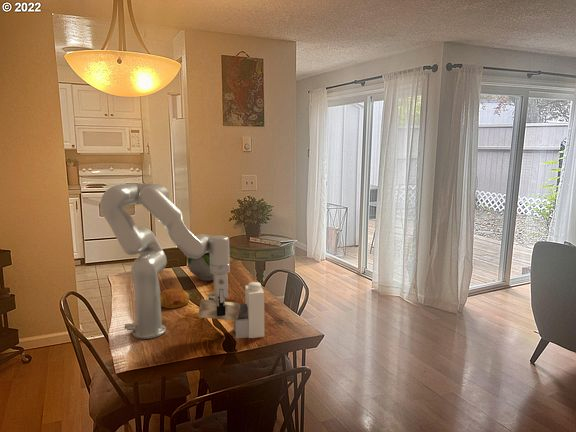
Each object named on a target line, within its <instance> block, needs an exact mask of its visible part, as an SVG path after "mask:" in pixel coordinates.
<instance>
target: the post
mask: <svg viewBox="0 0 576 432" xmlns="http://www.w3.org/2000/svg"><path fill="white" fill-rule="evenodd" d="M244 289H245V291H244V292H245V299H244V302H245V303H244V304H247V313H246V318H245V319H239V320H235V321H233V331H234V332H235V339H245V338H249V339H255V338H256V339H257V338H264V337H265V292H264V289H263V287H262V284H261V282H257V281H253V282H252V281H251V282H249V283H248V284H247V285H244Z"/></svg>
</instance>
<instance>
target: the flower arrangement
mask: <svg viewBox="0 0 576 432" xmlns="http://www.w3.org/2000/svg"><path fill="white" fill-rule="evenodd" d="M183 255H184V256H185V257H186V262H187V267H188V269H189V272H190V273H191V274H193V275H194V276H195V277H196V276H197V277H198V279H199V280H200V281H205V282H208V281H213V274H212V273H210V253H209V252H208V253H205V254H204V255H203V256H202V257H200V258H197V259H194V258H190V257H188V256H187V255H186V254H184V253H183Z"/></svg>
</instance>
